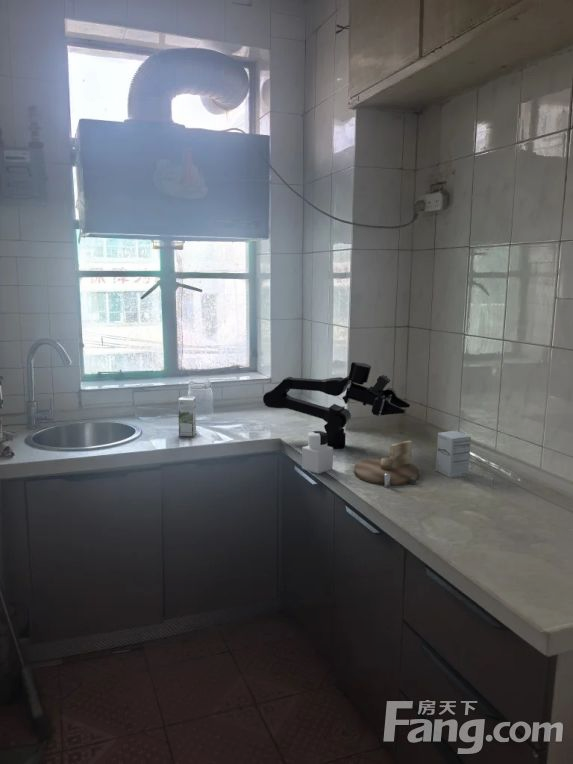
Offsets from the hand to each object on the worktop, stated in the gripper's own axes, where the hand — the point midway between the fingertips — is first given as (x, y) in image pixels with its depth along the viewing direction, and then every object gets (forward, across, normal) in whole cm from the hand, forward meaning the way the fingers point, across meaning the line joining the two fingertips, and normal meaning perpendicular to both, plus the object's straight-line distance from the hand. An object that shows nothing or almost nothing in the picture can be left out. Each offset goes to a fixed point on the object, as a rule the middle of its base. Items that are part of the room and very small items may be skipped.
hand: (407, 408), depth 206 cm
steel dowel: (+4, -34, +16) cm, 37 cm away
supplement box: (+20, -14, +12) cm, 27 cm away
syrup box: (-75, -8, +34) cm, 83 cm away
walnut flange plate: (+2, -23, +16) cm, 28 cm away
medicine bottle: (-19, -26, +21) cm, 39 cm away
